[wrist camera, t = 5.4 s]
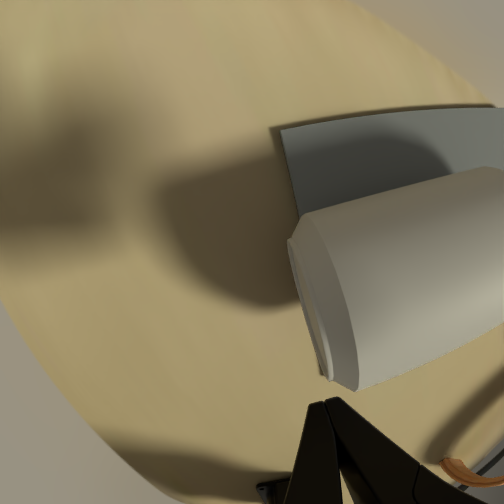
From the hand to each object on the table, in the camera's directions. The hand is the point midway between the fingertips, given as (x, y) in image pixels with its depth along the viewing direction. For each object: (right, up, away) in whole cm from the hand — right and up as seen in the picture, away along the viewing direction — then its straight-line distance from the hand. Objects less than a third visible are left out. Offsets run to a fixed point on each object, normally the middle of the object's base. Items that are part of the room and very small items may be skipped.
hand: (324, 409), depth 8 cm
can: (0, +2, +5) cm, 5 cm away
